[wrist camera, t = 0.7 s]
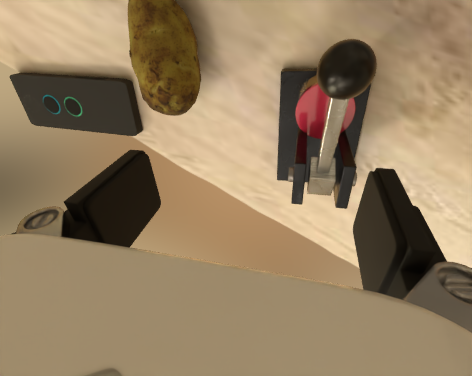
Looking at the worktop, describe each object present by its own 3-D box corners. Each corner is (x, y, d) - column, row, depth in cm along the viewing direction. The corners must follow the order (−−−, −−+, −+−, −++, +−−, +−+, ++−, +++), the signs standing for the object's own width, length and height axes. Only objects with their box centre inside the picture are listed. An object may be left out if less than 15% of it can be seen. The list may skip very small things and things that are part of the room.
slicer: (281, 69, 31) (266, 100, 20) (372, 67, 28) (412, 101, 17) (277, 176, 39) (265, 240, 28) (347, 180, 37) (363, 252, 26)
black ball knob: (320, 28, 15) (319, 62, 13) (381, 25, 14) (388, 60, 12) (303, 170, 26) (301, 196, 25) (335, 172, 26) (336, 199, 24)
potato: (210, -13, 28) (180, -21, 21) (210, 105, 35) (188, 125, 29) (141, -16, 29) (93, -25, 23) (155, 98, 37) (123, 116, 30)
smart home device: (6, 73, 38) (124, 80, 34) (17, 71, 40) (131, 78, 36) (31, 126, 43) (137, 137, 39) (40, 122, 44) (143, 133, 40)
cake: (299, 72, 29) (297, 82, 25) (353, 71, 28) (361, 82, 24) (295, 121, 33) (293, 138, 28) (344, 122, 31) (349, 140, 27)
